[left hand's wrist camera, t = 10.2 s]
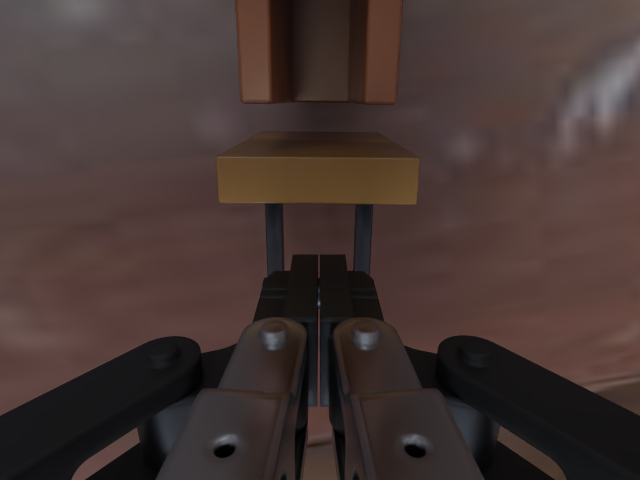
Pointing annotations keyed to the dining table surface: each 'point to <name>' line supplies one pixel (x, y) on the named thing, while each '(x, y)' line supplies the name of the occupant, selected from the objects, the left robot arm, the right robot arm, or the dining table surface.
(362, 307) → the left robot arm
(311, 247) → the dining table surface
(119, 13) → the dining table surface
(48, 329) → the dining table surface
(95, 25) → the dining table surface
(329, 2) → the drawer
